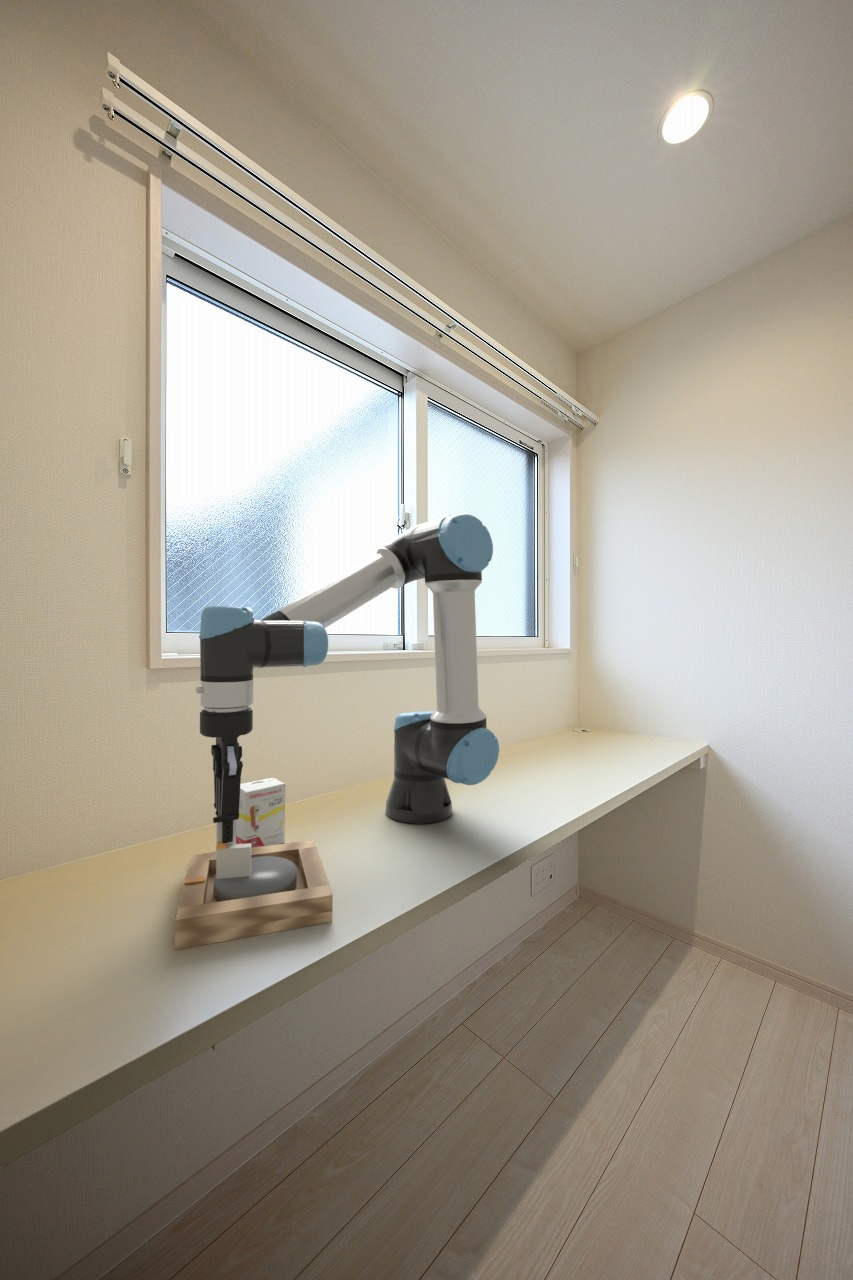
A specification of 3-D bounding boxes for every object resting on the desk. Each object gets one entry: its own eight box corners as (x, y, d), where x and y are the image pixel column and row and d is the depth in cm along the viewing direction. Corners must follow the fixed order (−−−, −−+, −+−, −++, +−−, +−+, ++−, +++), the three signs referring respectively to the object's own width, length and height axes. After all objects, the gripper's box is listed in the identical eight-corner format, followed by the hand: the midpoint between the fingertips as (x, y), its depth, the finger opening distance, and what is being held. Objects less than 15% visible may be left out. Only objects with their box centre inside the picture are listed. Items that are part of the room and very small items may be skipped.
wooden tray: (313, 861, 90) (314, 838, 90) (332, 921, 71) (332, 892, 71) (190, 878, 83) (190, 853, 83) (174, 949, 64) (175, 917, 64)
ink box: (243, 856, 91) (244, 791, 91) (231, 848, 95) (232, 785, 95) (285, 843, 98) (286, 782, 98) (272, 835, 101) (273, 776, 101)
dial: (297, 865, 84) (298, 823, 84) (295, 902, 73) (295, 854, 73) (221, 871, 82) (221, 828, 82) (205, 911, 70) (206, 861, 70)
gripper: (195, 703, 81) (195, 848, 81) (204, 716, 70) (204, 885, 70) (244, 700, 84) (244, 839, 85) (260, 712, 73) (259, 872, 74)
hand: (225, 860), depth 78 cm, fingers closed
